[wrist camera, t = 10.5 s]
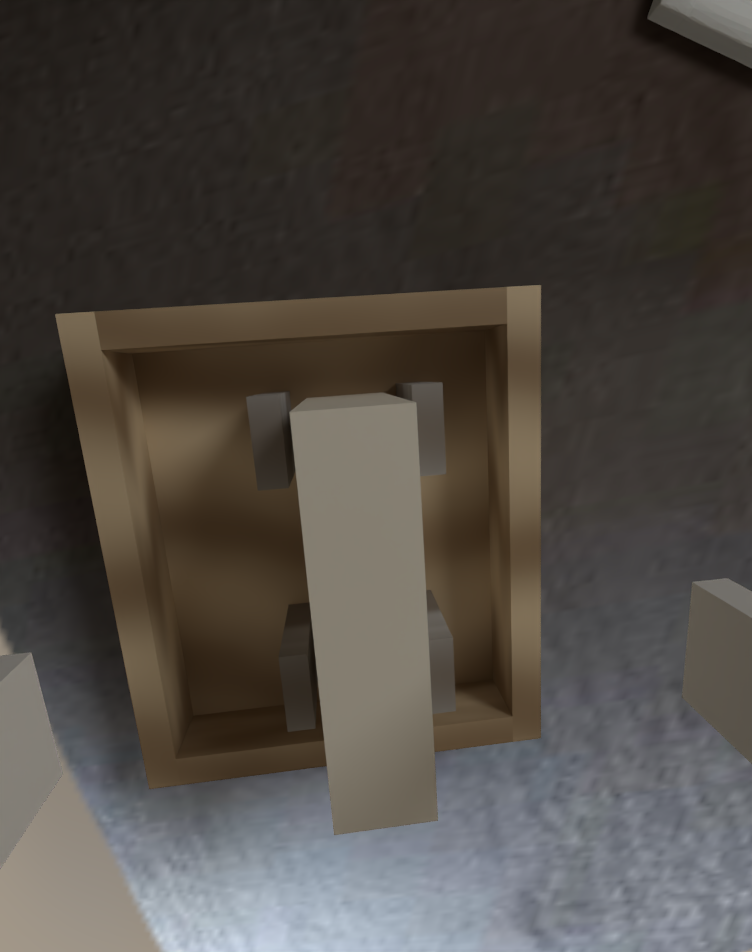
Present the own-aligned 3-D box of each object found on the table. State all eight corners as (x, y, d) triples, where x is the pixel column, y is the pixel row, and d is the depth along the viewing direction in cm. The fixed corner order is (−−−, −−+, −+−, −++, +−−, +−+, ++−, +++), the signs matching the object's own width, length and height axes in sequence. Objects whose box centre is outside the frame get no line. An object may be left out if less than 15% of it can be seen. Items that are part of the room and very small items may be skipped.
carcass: (105, 325, 19) (25, 307, 14) (505, 300, 20) (561, 275, 15) (176, 726, 23) (134, 823, 18) (510, 686, 24) (557, 766, 19)
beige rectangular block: (306, 397, 19) (289, 412, 11) (382, 392, 19) (416, 402, 11) (333, 669, 22) (334, 835, 14) (399, 661, 22) (437, 820, 14)
